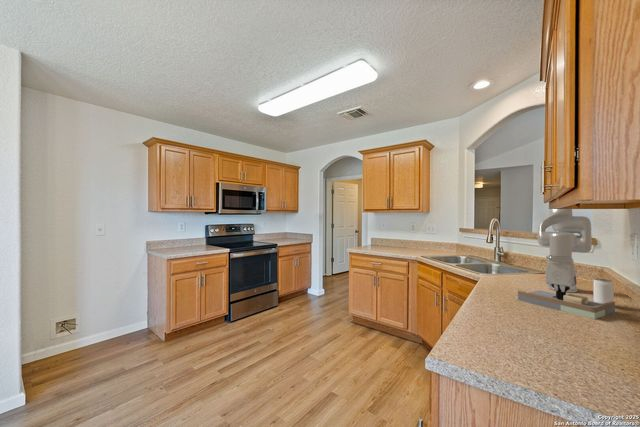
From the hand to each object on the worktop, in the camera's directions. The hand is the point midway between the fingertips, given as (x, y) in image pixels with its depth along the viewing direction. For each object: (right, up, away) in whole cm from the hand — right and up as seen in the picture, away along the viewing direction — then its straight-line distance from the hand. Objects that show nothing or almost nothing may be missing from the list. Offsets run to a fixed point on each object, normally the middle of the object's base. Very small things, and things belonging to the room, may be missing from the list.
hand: (561, 299), depth 121 cm
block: (+2, -1, -5) cm, 5 cm away
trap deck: (+4, -4, +3) cm, 6 cm away
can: (+23, -4, +4) cm, 24 cm away
